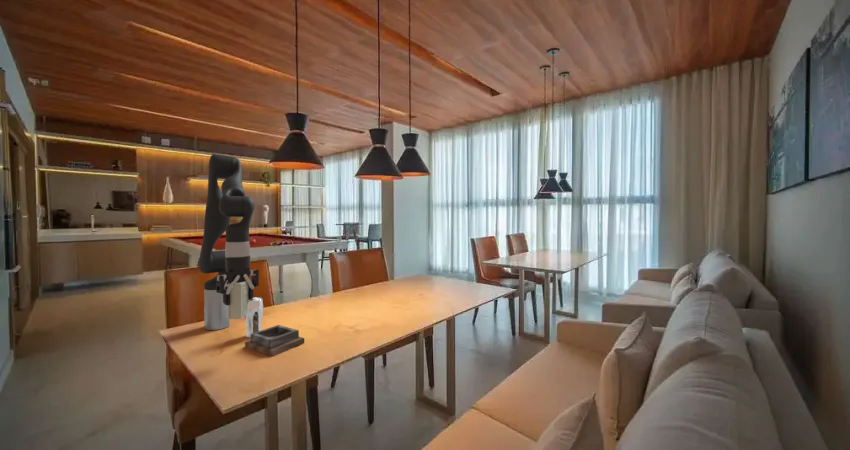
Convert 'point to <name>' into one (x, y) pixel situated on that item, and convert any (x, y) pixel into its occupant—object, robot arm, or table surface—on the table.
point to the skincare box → (238, 301)
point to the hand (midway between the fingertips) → (238, 302)
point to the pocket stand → (274, 340)
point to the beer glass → (254, 316)
